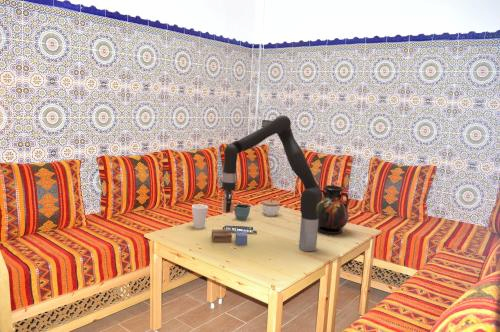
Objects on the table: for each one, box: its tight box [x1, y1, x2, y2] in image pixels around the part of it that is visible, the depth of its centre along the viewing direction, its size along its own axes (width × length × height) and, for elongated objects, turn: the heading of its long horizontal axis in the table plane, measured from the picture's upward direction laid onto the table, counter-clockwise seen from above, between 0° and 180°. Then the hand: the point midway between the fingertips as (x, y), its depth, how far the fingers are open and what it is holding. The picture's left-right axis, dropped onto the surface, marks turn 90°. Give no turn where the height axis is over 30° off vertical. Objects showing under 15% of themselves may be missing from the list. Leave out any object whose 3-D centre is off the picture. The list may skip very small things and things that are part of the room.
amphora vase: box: [317, 184, 350, 236], centre depth 242 cm, size 22×22×28 cm
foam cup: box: [191, 203, 209, 230], centre depth 238 cm, size 10×9×13 cm
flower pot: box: [233, 203, 251, 221], centre depth 259 cm, size 9×9×9 cm
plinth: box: [211, 229, 233, 244], centre depth 219 cm, size 10×10×4 cm
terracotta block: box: [221, 199, 234, 214], centre depth 219 cm, size 6×6×6 cm
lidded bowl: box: [261, 199, 281, 217], centre depth 273 cm, size 13×13×11 cm
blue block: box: [234, 231, 248, 246], centre depth 214 cm, size 6×6×6 cm
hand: (227, 210), depth 220 cm, fingers closed on terracotta block, 5 cm apart
